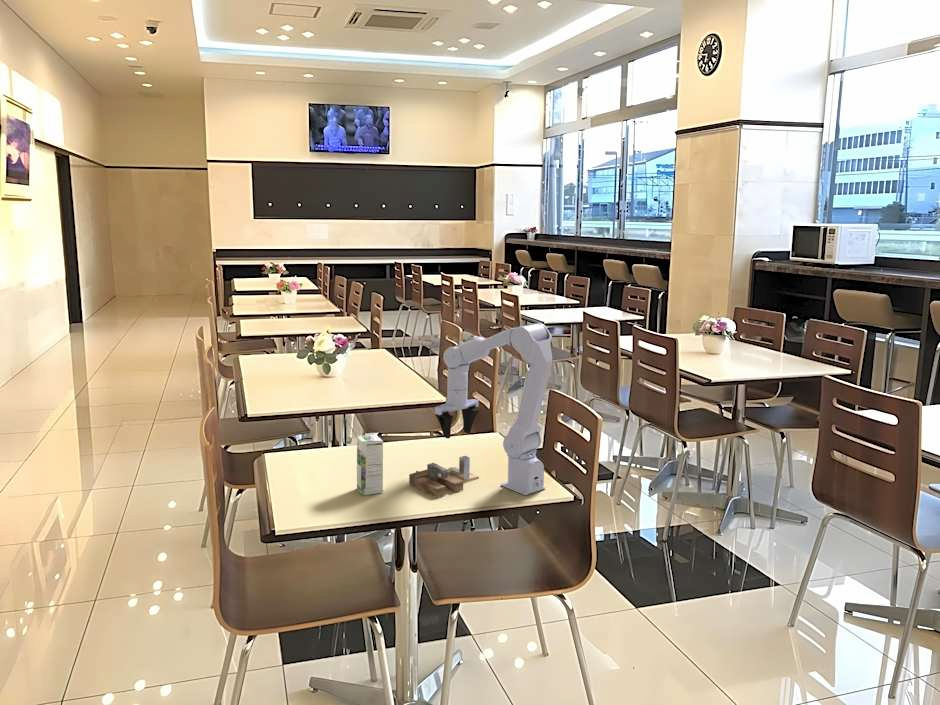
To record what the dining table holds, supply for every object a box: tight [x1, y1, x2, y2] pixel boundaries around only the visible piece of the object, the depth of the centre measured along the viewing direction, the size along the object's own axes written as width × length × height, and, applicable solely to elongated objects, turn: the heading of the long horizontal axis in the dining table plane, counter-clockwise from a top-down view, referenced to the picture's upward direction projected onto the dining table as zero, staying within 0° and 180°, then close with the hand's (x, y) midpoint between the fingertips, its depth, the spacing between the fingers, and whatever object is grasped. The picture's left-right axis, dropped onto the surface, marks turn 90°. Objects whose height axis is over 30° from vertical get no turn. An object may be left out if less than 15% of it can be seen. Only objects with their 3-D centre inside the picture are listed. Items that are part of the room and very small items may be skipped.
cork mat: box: [448, 466, 480, 484], centre depth 214 cm, size 10×8×1 cm
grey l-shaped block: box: [447, 455, 471, 480], centre depth 212 cm, size 7×2×6 cm, turn 41°
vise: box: [408, 462, 464, 499], centre depth 206 cm, size 14×9×6 cm, turn 41°
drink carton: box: [356, 434, 384, 496], centre depth 201 cm, size 6×6×14 cm
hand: (456, 434), depth 218 cm, fingers open, 7 cm apart
